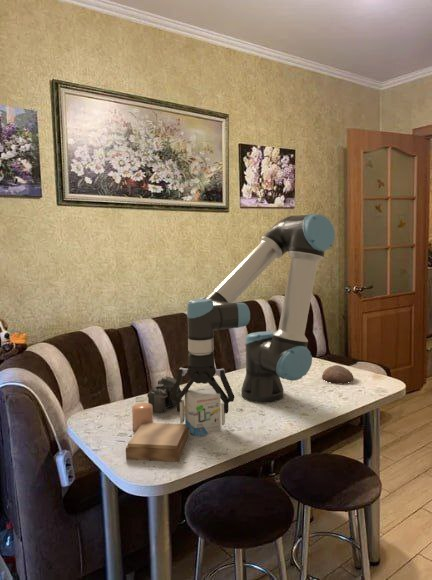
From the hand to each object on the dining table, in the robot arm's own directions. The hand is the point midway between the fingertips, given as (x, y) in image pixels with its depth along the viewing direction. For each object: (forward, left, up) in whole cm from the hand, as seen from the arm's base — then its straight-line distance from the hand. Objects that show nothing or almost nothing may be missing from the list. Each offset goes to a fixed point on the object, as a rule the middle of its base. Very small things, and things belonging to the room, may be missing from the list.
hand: (202, 422), depth 131 cm
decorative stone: (-46, -49, -2) cm, 67 cm away
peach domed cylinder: (+18, +2, -2) cm, 18 cm away
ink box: (0, 0, -2) cm, 2 cm away
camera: (+15, -16, -2) cm, 22 cm away
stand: (+10, +13, -2) cm, 16 cm away
